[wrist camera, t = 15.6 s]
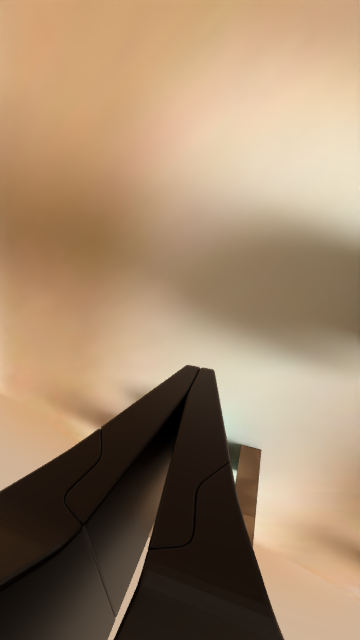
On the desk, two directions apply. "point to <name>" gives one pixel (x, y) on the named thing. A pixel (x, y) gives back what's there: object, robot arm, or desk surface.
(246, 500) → the brown u-shaped block
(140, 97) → the desk surface
